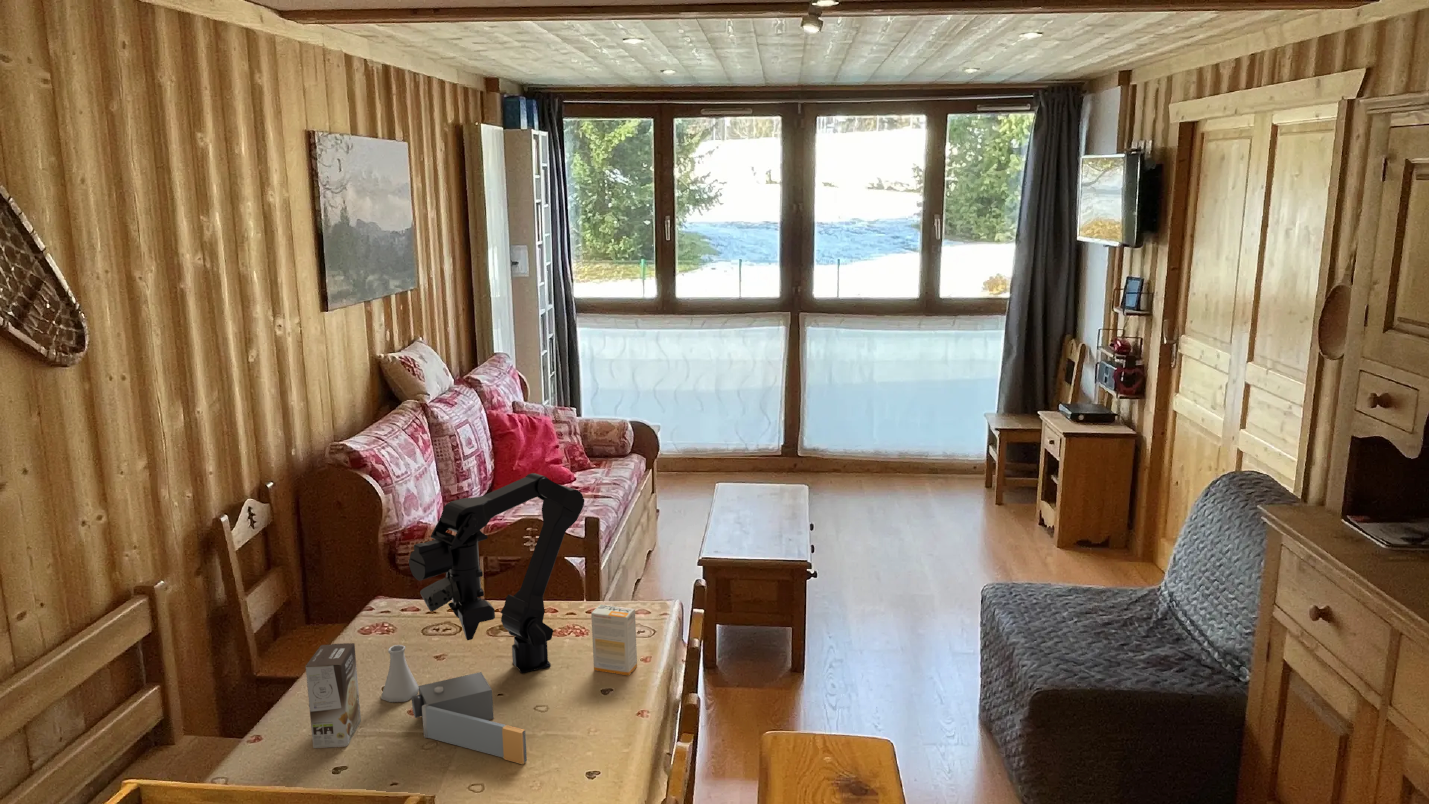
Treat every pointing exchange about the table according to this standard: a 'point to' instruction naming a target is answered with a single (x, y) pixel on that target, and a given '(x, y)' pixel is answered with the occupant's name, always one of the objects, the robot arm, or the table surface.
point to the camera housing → (457, 696)
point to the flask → (399, 678)
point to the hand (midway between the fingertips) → (469, 639)
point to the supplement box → (614, 639)
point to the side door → (475, 733)
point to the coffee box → (333, 695)
